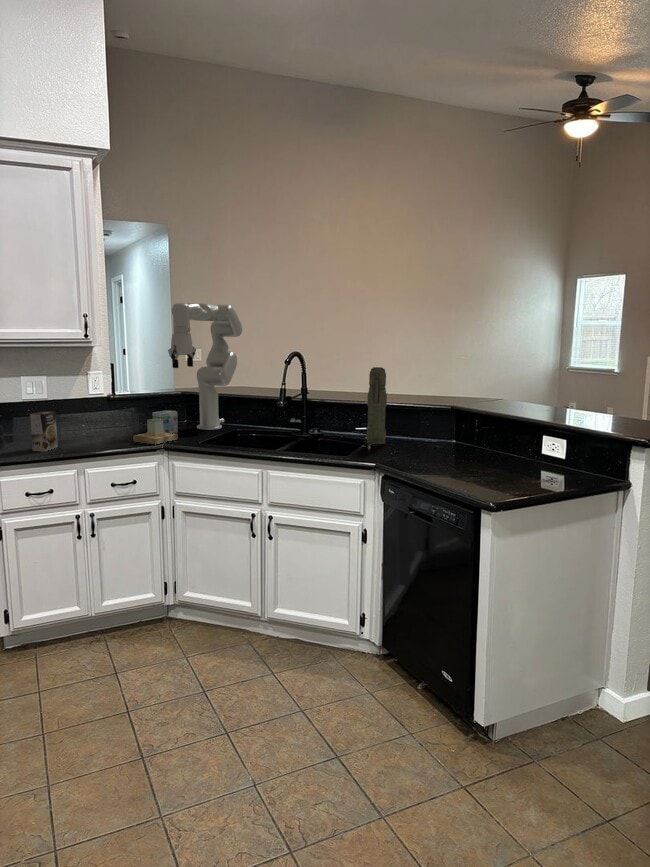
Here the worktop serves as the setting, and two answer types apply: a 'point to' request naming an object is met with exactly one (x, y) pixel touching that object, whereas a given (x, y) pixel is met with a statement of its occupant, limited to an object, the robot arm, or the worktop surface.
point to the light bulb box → (168, 420)
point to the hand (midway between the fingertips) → (182, 367)
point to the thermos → (376, 406)
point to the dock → (155, 438)
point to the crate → (155, 427)
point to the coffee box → (43, 431)
